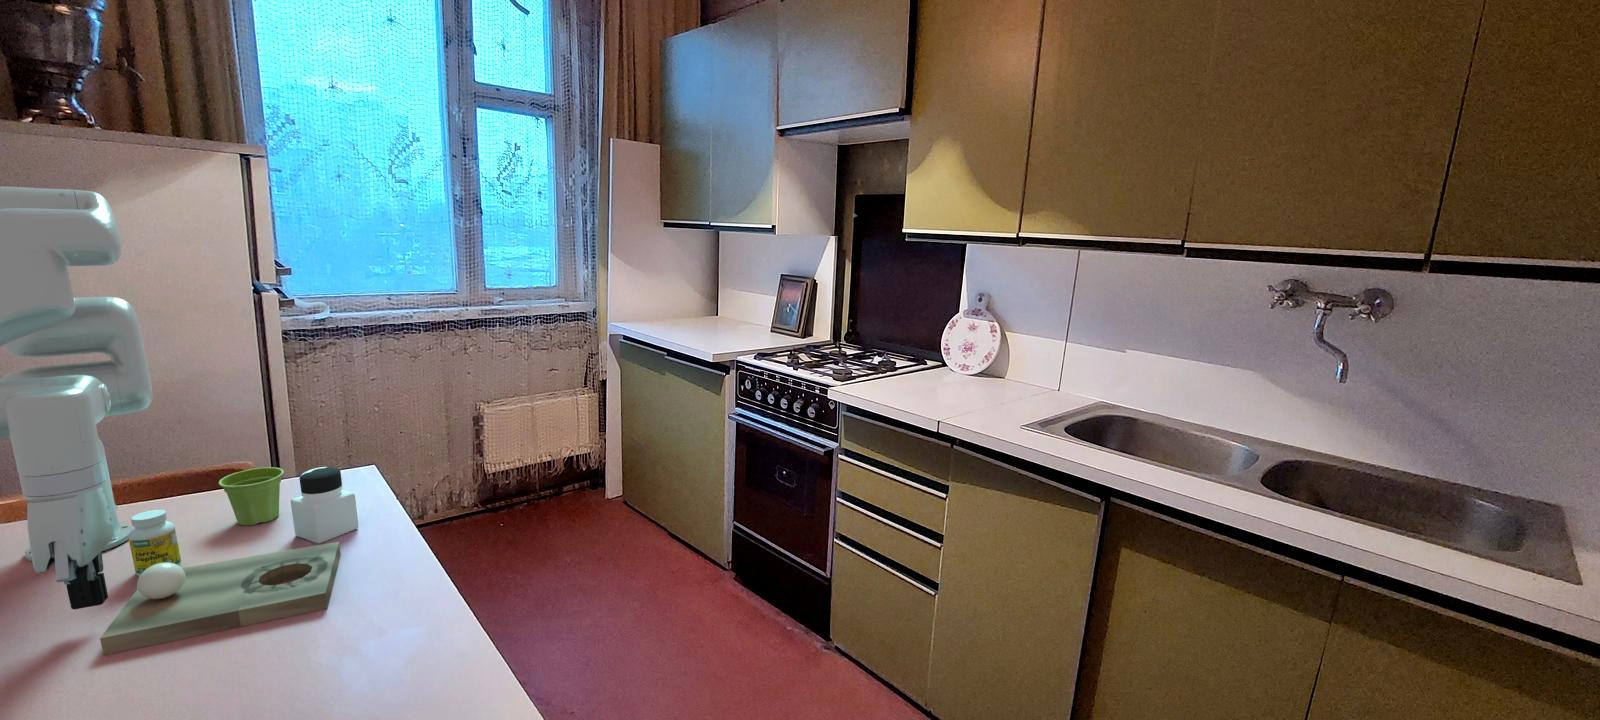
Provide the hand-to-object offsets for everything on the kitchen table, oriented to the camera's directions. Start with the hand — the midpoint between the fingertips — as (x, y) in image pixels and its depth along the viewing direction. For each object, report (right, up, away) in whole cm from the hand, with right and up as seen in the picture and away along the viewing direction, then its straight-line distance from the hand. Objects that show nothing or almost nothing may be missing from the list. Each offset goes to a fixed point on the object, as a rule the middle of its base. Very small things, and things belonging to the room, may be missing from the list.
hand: (90, 603), depth 91 cm
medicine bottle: (+12, +2, +30) cm, 32 cm away
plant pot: (-5, +3, +34) cm, 35 cm away
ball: (+7, +2, +3) cm, 8 cm away
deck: (+13, -2, +8) cm, 16 cm away
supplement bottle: (-6, 0, +16) cm, 17 cm away
